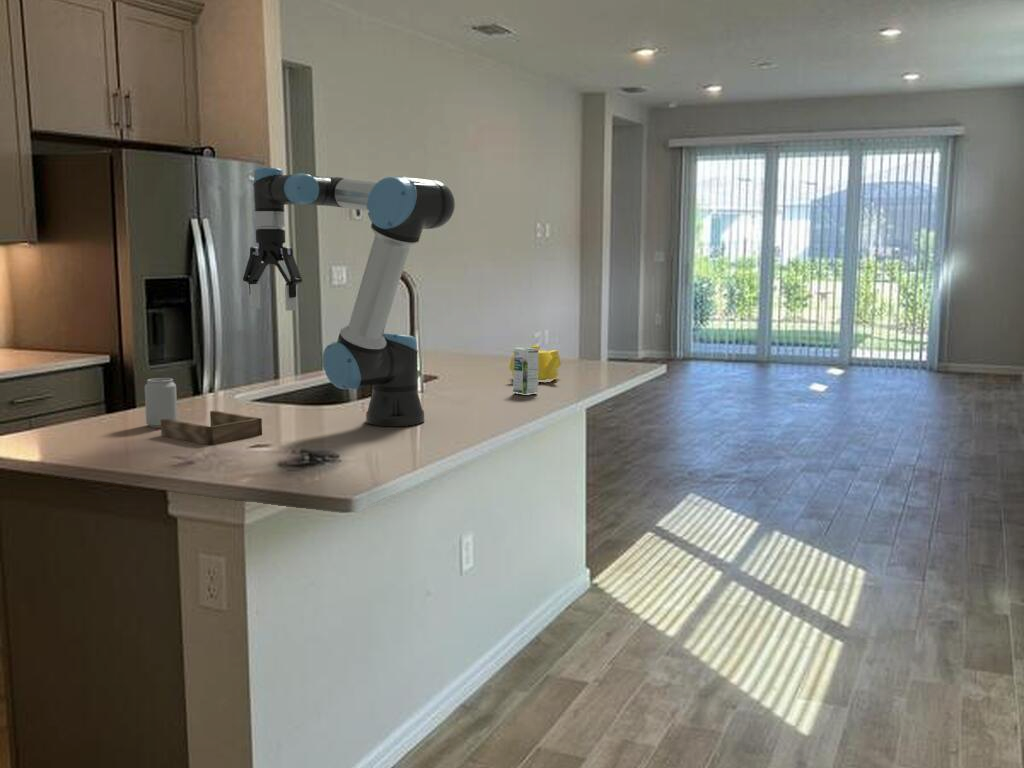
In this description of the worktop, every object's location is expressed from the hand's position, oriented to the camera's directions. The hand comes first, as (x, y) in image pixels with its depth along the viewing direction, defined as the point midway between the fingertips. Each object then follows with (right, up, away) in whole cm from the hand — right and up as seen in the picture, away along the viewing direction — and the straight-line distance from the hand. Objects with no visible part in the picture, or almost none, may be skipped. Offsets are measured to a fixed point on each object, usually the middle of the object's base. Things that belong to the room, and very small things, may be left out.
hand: (273, 309), depth 257 cm
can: (-25, -31, -12) cm, 41 cm away
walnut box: (-9, -32, -23) cm, 41 cm away
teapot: (+71, -19, +73) cm, 104 cm away
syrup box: (+68, -23, +43) cm, 83 cm away
